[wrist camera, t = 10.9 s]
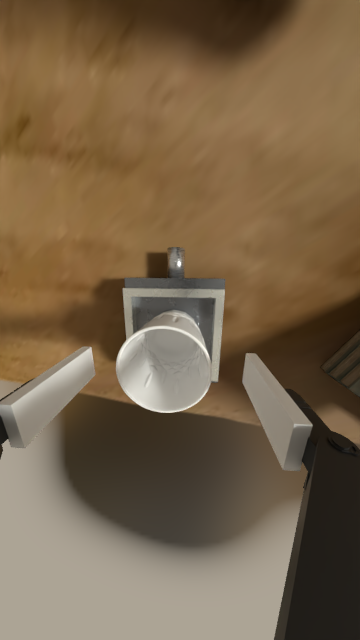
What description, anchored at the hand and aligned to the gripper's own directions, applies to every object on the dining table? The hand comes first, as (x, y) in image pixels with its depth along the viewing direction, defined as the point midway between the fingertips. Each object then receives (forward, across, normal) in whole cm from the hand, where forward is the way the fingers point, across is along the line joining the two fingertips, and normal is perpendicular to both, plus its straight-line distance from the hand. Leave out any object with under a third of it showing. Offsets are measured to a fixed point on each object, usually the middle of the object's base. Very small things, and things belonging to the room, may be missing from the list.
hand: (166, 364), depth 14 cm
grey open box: (+15, 0, +1) cm, 15 cm away
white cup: (+9, 0, -1) cm, 9 cm away
